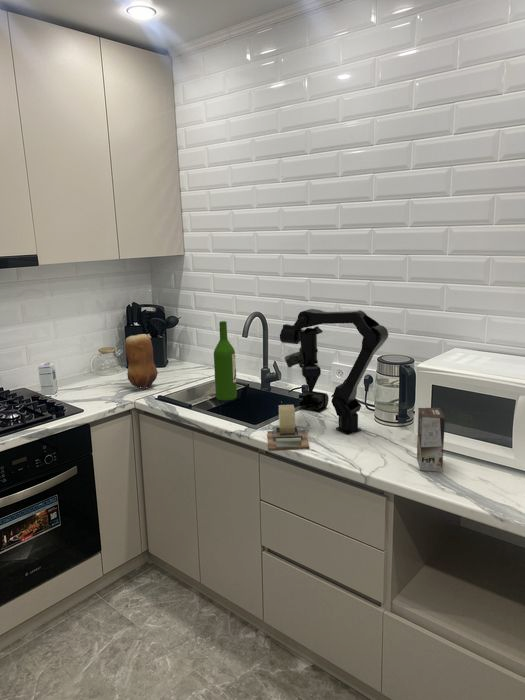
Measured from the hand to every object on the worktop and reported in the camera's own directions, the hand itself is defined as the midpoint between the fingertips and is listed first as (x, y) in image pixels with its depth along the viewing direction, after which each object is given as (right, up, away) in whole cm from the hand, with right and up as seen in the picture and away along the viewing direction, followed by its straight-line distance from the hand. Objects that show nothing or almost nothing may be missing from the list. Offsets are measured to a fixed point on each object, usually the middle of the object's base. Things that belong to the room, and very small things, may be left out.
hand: (309, 388), depth 189 cm
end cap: (+3, -10, +18) cm, 21 cm away
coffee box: (+32, -20, -35) cm, 51 cm away
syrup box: (-111, -7, +47) cm, 121 cm away
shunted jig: (-8, -16, -13) cm, 23 cm away
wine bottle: (-32, -7, +36) cm, 49 cm away
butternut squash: (-71, -4, +55) cm, 90 cm away
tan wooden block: (-8, -15, -11) cm, 21 cm away
